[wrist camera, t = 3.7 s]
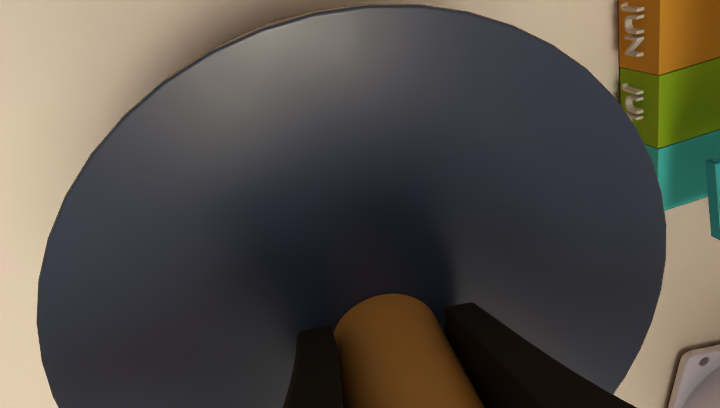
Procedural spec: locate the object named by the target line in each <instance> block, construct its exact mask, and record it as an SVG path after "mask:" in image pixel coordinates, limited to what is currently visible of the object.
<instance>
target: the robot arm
mask: <svg viewBox="0 0 720 408" xmlns="http://www.w3.org/2000/svg"><path fill="white" fill-rule="evenodd" d="M444 334H445V336H446V337H447V339H448V341H449V343H450V345H451V347H452V348H453V350H454V352H455V354H456V356H457V358H458V359H459V361H460V363H461V365H462V367H463V369H464V370H465V372H466V374H467V376H468V378H469V380H470V381H471V383H472V385H473V387H474V389H475V391H476V392H477V394H478V396H479V398H480V400H481V402H482V403H483V405H484V407H485V408H637V407H635V406H633V405H631V404H629V403H627V402H625V401H623V400H621V399H620V398H618V397H616V396H614V395H612V394H611V393H609V392H607V391H605V390H604V389H602V388H600V387H599V386H597V385H595V384H594V383H592V382H590V381H589V380H587V379H585V378H584V377H582V376H580V375H579V374H577V373H575V372H574V371H572V370H571V369H569V368H568V367H566V366H564V365H563V364H561V363H560V362H558V361H557V360H555V359H554V358H552V357H551V356H549V355H547V354H546V353H545V352H543V351H542V350H540V349H539V348H537V347H536V346H534V345H533V344H531V343H530V342H528V341H527V340H525V339H524V338H523V337H521V336H520V335H518V334H517V333H516V332H514V331H513V330H511V329H510V328H508V327H507V326H506V325H504V324H503V323H501V322H500V321H499V320H497V319H496V318H494V317H493V316H492V315H490V314H489V313H488V312H486V311H485V310H483V309H482V308H480V307H479V306H477V305H476V304H475V303H473V302H469V303H463V304H457V305H451V306H445V325H444ZM283 408H344V407H343V396H342V386H341V376H340V366H339V356H338V347H337V344H336V340H335V336H334V333H333V330H332V326H327V327H321V328H315V329H309V330H304V331H301V332H300V333H299V334H298V335H297V345H296V354H295V361H294V366H293V371H292V375H291V380H290V384H289V387H288V391H287V395H286V398H285V402H284V405H283ZM668 408H720V345H715V346H710V347H705V348H700V349H695V350H690V351H688V352H686V353H685V354H684V355H683V356H682V357H681V359H680V363H679V367H678V371H677V375H676V378H675V382H674V386H673V390H672V394H671V398H670V402H669V406H668Z"/></svg>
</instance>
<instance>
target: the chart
mask: <svg viewBox="0 0 720 408" xmlns="http://www.w3.org/2000/svg"><path fill="white" fill-rule="evenodd" d="M619 66H620V67H621V68H620V105H621V107H622V108H623V110H624V111H625V112H626V114H627V115H628V117H629V118H630V119H631V121H632V122H633V124H634V125H635V126H636V128H637V130H638V132H639V134H640V136H641V138H642V140H643V142H644V144H645V146H646V149H647V151H648V153H649V155H650V157H651V159H652V162H653V165H654V168H655V172H656V175H657V178H658V182H659V185H660V189H661V192H662V198H663V206H664V211H665V210H668V209H671V208H674V207H677V206H680V205H684V204H687V203H690V202H693V201H696V200H699V199H702V198H705V197H708V200H709V212H710V225H711V236H713V237H715V238H717V239H719V240H720V0H619Z"/></svg>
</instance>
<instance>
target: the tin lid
mask: <svg viewBox="0 0 720 408" xmlns="http://www.w3.org/2000/svg"><path fill="white" fill-rule="evenodd" d="M665 260H666V221H665V213H664V206H663V198H662V192H661V189H660V185H659V182H658V178H657V175H656V172H655V168H654V165H653V162H652V159H651V157H650V155H649V153H648V151H647V149H646V146H645V144H644V142H643V140H642V138H641V136H640V134H639V132H638V130H637V128H636V126H635V125H634V124H633V122H632V121H631V119H630V118H629V117H628V115H627V114H626V112H625V111H624V110H623V108H622V107H621V105H620V104H619V103H618V101H617V100H616V98H615V97H614V96H613V95H612V94H611V93H610V92H609V91H608V90H607V89H606V88H605V87H604V86H603V85H602V84H601V83H600V82H599V81H598V80H597V79H596V78H595V77H594V76H593V75H592V74H591V73H590V72H589V71H588V70H587V69H586V68H585V67H583V66H582V65H580V64H579V63H577V62H576V61H575V60H573V59H572V58H570V57H569V56H568V55H566V54H565V53H563V52H562V51H561V50H559V49H558V48H556V47H555V46H554V45H552V44H550V43H548V42H546V41H544V40H542V39H540V38H538V37H536V36H534V35H531V34H529V33H527V32H525V31H523V30H521V29H519V28H517V27H515V26H513V25H510V24H507V23H503V22H500V21H497V20H494V19H490V18H487V17H484V16H480V15H477V14H474V13H471V12H467V11H460V10H453V9H446V8H439V7H432V6H426V5H418V4H359V5H353V6H346V7H339V8H332V9H325V10H319V11H312V12H308V13H305V14H301V15H298V16H294V17H291V18H288V19H284V20H281V21H278V22H274V23H271V24H267V25H264V26H261V27H258V28H256V29H254V30H252V31H250V32H247V33H245V34H243V35H241V36H239V37H236V38H234V39H232V40H230V41H228V42H225V43H223V44H221V45H219V46H217V47H214V48H212V49H211V50H209V51H208V52H206V53H204V54H203V55H201V56H200V57H198V58H197V59H195V60H194V61H192V62H190V63H189V64H187V65H186V66H184V67H183V68H181V69H179V70H178V71H176V72H175V73H173V74H172V75H170V76H169V77H167V78H166V79H165V80H164V81H163V82H162V83H160V84H159V85H158V86H157V87H156V88H155V89H153V90H152V91H151V92H150V93H149V94H148V95H147V96H145V97H144V98H143V99H142V100H141V101H140V102H138V103H137V104H136V105H135V106H134V107H133V108H132V109H130V110H129V111H128V112H127V113H126V114H125V115H124V116H123V117H122V118H121V120H120V121H119V122H118V123H117V124H116V125H115V127H114V128H113V129H112V130H111V131H110V132H109V134H108V135H107V136H106V137H105V138H104V139H103V141H102V142H101V143H100V144H99V145H98V146H97V148H96V149H95V150H94V151H93V152H92V154H91V155H90V156H89V158H88V160H87V161H86V163H85V165H84V166H83V168H82V169H81V171H80V173H79V174H78V176H77V178H76V179H75V181H74V182H73V184H72V186H71V187H70V189H69V191H68V192H67V194H66V196H65V198H64V200H63V203H62V205H61V208H60V210H59V212H58V215H57V217H56V220H55V222H54V225H53V227H52V230H51V232H50V234H49V237H48V240H47V245H46V249H45V254H44V258H43V263H42V267H41V272H40V276H39V281H38V303H37V328H38V336H39V343H40V351H41V358H42V363H43V366H44V370H45V373H46V376H47V379H48V382H49V385H50V389H51V392H52V395H53V397H54V399H55V401H56V403H57V405H58V407H59V408H283V405H284V402H285V398H286V395H287V391H288V387H289V384H290V380H291V375H292V371H293V366H294V361H295V354H296V345H297V335H298V334H299V333H300V332H301V331H304V330H309V329H315V328H321V327H327V326H332V330H333V333H334V336H335V340H336V344H337V347H338V356H339V366H340V376H341V386H342V396H343V407H344V408H485V407H484V405H483V403H482V402H481V400H480V398H479V396H478V394H477V392H476V391H475V389H474V387H473V385H472V383H471V381H470V380H469V378H468V376H467V374H466V372H465V370H464V369H463V367H462V365H461V363H460V361H459V359H458V358H457V356H456V354H455V352H454V350H453V348H452V347H451V345H450V343H449V341H448V339H447V337H446V336H445V334H444V325H445V306H451V305H457V304H463V303H469V302H473V303H475V304H476V305H477V306H479V307H480V308H482V309H483V310H485V311H486V312H488V313H489V314H490V315H492V316H493V317H494V318H496V319H497V320H499V321H500V322H501V323H503V324H504V325H506V326H507V327H508V328H510V329H511V330H513V331H514V332H516V333H517V334H518V335H520V336H521V337H523V338H524V339H525V340H527V341H528V342H530V343H531V344H533V345H534V346H536V347H537V348H539V349H540V350H542V351H543V352H545V353H546V354H547V355H549V356H551V357H552V358H554V359H555V360H557V361H558V362H560V363H561V364H563V365H564V366H566V367H568V368H569V369H571V370H572V371H574V372H575V373H577V374H579V375H580V376H582V377H584V378H585V379H587V380H589V381H590V382H592V383H594V384H595V385H597V386H599V387H600V388H602V389H604V390H605V391H607V392H609V393H611V394H612V395H613V393H614V392H615V391H616V389H617V388H618V386H619V385H620V383H621V382H622V381H623V379H624V378H625V376H626V374H627V372H628V371H629V369H630V367H631V365H632V363H633V361H634V360H635V358H636V356H637V354H638V352H639V351H640V349H641V346H642V344H643V341H644V339H645V337H646V334H647V332H648V329H649V327H650V325H651V322H652V319H653V316H654V312H655V309H656V305H657V302H658V298H659V295H660V291H661V286H662V279H663V273H664V266H665Z"/></svg>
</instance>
